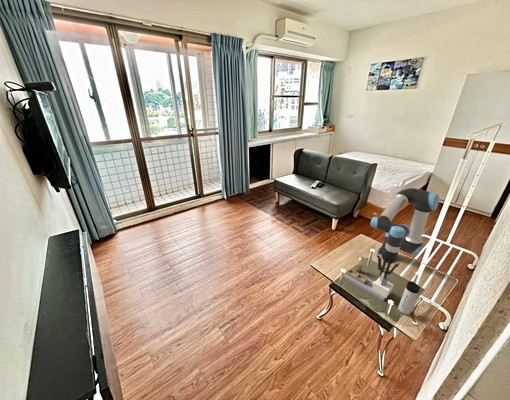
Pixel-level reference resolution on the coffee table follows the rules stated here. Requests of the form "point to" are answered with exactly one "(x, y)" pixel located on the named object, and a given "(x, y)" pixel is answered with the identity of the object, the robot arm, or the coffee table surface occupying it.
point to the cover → (382, 287)
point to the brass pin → (360, 264)
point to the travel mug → (408, 298)
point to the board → (361, 282)
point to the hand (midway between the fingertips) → (381, 280)
